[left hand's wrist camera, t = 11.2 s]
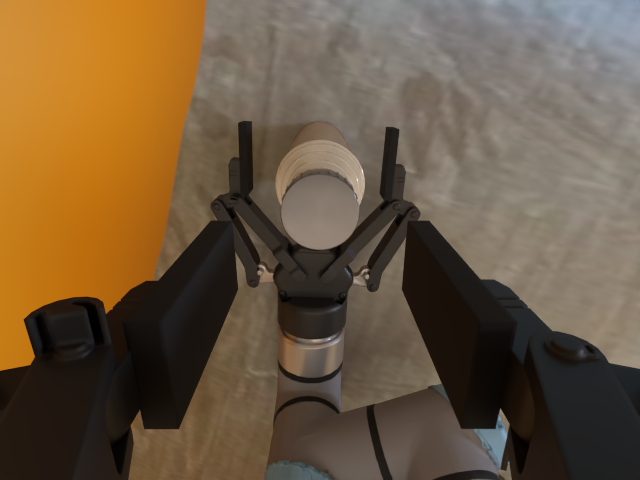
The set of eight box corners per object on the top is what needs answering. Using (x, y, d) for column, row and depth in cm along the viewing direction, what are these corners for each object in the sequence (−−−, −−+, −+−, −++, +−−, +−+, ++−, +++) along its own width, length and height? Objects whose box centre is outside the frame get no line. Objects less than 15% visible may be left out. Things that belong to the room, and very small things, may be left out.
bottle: (317, 109, 41) (315, 126, 18) (357, 147, 43) (401, 207, 19) (282, 151, 43) (239, 215, 20) (321, 185, 44) (323, 284, 21)
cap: (317, 150, 20) (316, 155, 18) (373, 202, 21) (377, 210, 19) (267, 207, 21) (263, 216, 19) (322, 254, 22) (323, 265, 20)
